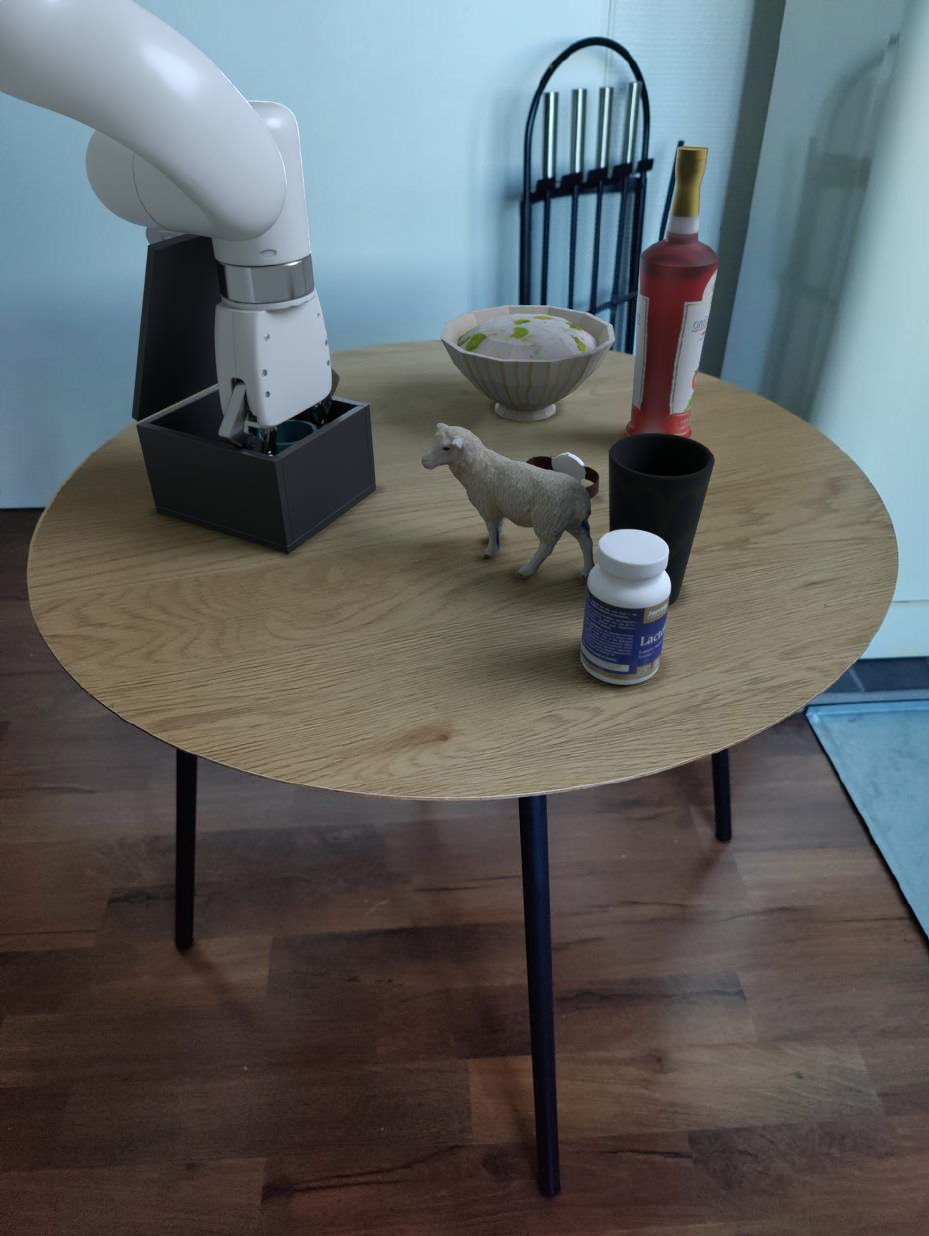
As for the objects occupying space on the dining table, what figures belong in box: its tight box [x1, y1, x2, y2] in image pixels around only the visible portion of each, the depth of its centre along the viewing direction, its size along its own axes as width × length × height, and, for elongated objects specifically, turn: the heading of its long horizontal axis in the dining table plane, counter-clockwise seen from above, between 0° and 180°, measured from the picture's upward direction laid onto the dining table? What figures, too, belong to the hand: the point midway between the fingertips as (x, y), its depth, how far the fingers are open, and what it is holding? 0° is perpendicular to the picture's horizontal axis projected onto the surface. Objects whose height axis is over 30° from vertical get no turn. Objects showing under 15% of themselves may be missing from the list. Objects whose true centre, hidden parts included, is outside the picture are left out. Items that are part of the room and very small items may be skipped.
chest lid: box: [131, 227, 222, 423], centre depth 79 cm, size 16×14×5 cm
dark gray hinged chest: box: [135, 385, 377, 555], centre depth 84 cm, size 16×14×9 cm
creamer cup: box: [257, 420, 318, 455], centre depth 82 cm, size 5×6×6 cm
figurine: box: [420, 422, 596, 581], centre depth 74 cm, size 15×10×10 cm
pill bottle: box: [579, 529, 671, 686], centre depth 63 cm, size 6×6×10 cm
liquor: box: [624, 145, 721, 439], centre depth 88 cm, size 7×7×28 cm
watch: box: [525, 451, 600, 500], centre depth 86 cm, size 8×5×4 cm, turn 57°
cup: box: [608, 433, 716, 607], centre depth 70 cm, size 8×8×12 cm
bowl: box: [439, 304, 616, 422], centre depth 101 cm, size 19×19×10 cm
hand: (292, 480), depth 83 cm, fingers closed on creamer cup, 5 cm apart
